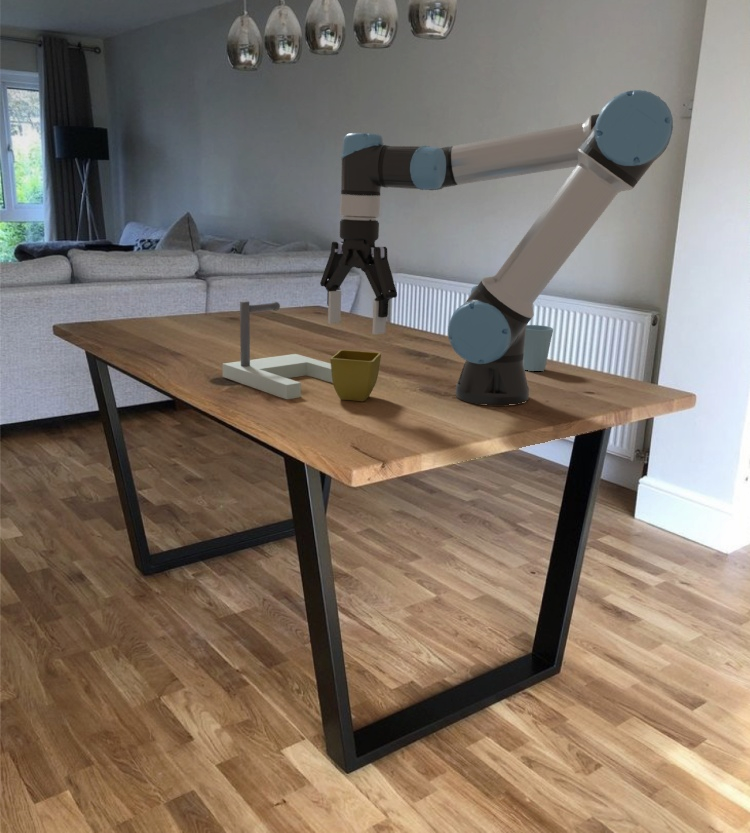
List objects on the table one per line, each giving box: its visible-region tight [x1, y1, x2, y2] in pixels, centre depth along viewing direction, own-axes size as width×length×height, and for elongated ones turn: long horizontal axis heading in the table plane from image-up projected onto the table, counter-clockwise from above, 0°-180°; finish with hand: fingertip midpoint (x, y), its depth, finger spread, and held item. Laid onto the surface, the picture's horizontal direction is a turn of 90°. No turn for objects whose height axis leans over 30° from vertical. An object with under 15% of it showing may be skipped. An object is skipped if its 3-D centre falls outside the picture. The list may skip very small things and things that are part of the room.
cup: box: [523, 324, 554, 372], centre depth 195 cm, size 8×8×10 cm
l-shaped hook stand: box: [222, 300, 333, 400], centre depth 173 cm, size 24×20×17 cm
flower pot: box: [329, 349, 382, 402], centre depth 162 cm, size 9×9×9 cm
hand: (355, 328), depth 160 cm, fingers open, 13 cm apart
